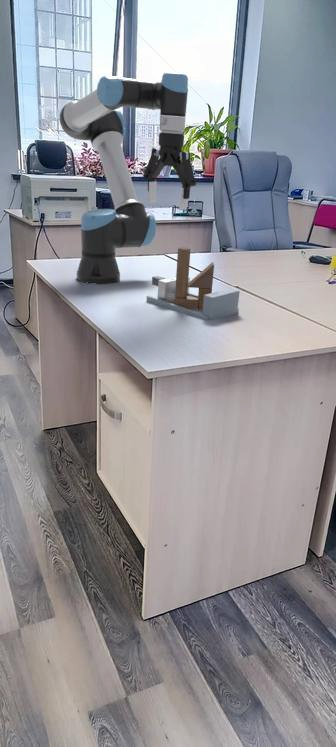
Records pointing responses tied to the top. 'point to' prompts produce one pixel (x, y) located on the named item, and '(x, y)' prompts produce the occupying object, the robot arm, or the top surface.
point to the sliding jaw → (166, 288)
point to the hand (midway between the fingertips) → (167, 206)
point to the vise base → (208, 304)
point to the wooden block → (191, 282)
